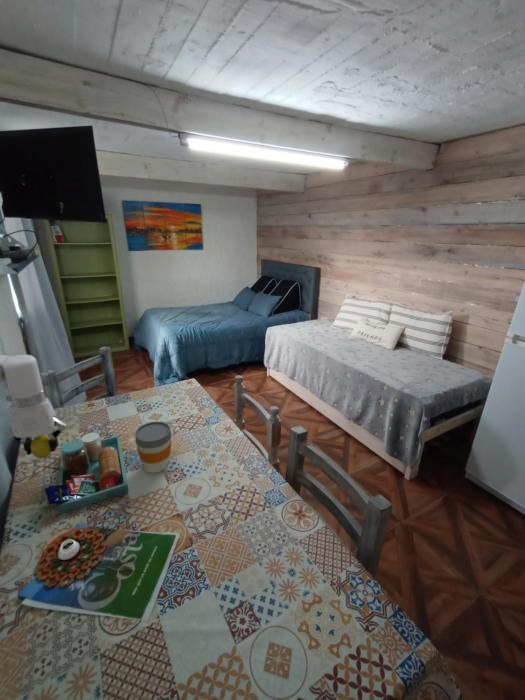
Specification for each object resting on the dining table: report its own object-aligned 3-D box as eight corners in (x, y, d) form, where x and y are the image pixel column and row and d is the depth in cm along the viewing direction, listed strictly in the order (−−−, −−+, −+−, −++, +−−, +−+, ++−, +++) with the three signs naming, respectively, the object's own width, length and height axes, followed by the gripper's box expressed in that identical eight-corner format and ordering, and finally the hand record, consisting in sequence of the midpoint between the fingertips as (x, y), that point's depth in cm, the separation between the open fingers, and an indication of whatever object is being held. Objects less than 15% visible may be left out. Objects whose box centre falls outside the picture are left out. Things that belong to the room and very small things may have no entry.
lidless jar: (77, 540, 90) (57, 550, 87) (75, 532, 89) (54, 542, 86) (81, 553, 86) (60, 564, 83) (79, 545, 85) (58, 556, 82)
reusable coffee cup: (131, 471, 115) (126, 437, 110) (152, 450, 127) (148, 418, 121) (161, 479, 112) (157, 445, 107) (180, 457, 123) (177, 424, 118)
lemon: (59, 455, 98) (53, 433, 95) (40, 466, 93) (34, 443, 90) (49, 449, 100) (43, 428, 97) (30, 459, 96) (23, 437, 93)
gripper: (-14, 408, 84) (3, 463, 90) (59, 401, 88) (71, 454, 95) (-1, 394, 90) (15, 446, 97) (67, 389, 95) (77, 439, 101)
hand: (42, 449), depth 96 cm, fingers closed on lemon, 5 cm apart
